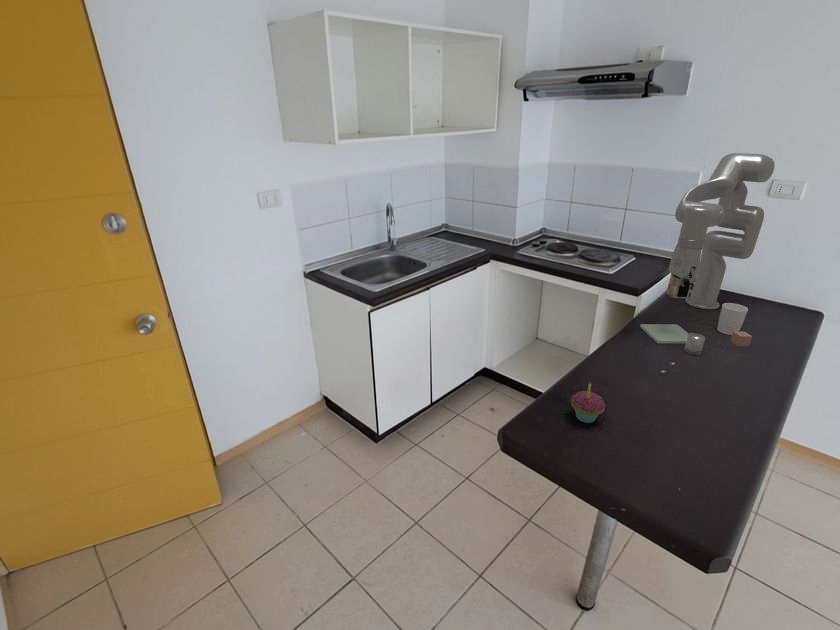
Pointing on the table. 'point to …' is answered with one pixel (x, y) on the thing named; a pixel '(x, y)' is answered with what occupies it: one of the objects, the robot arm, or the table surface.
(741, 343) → the terracotta cube
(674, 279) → the maple block
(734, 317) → the white cup
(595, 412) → the cupcake
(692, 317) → the table surface
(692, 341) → the grey metal cylinder
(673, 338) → the sage plate
